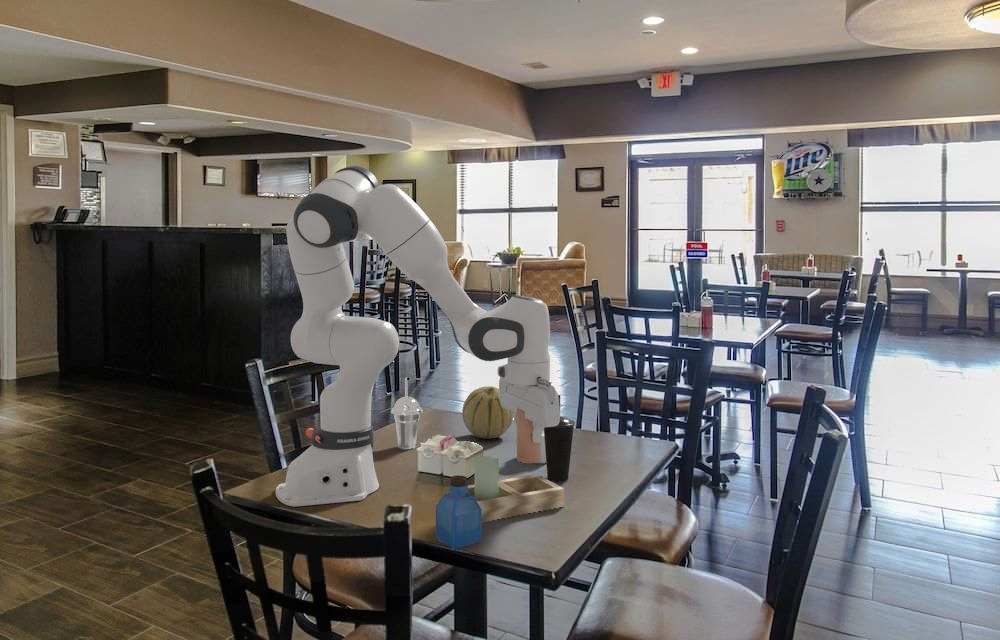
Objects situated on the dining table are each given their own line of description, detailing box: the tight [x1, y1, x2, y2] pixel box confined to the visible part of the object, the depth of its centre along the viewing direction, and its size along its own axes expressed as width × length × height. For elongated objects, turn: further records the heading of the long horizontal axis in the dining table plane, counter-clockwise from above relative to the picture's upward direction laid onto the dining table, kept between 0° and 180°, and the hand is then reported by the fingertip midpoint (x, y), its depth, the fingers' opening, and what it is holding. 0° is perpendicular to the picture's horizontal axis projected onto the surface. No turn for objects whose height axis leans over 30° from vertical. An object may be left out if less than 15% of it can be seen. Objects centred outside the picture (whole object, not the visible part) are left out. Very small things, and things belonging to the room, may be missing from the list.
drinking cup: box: [544, 394, 576, 483], centre depth 177 cm, size 8×8×20 cm
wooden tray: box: [466, 474, 565, 524], centre depth 159 cm, size 21×11×4 cm, turn 118°
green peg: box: [474, 455, 500, 501], centre depth 156 cm, size 5×5×11 cm
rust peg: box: [516, 408, 541, 464], centre depth 159 cm, size 5×5×11 cm
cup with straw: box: [390, 376, 424, 450], centre depth 202 cm, size 8×9×20 cm
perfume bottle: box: [435, 475, 483, 550], centre depth 141 cm, size 6×6×12 cm
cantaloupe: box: [461, 385, 514, 440], centre depth 213 cm, size 15×15×15 cm
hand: (528, 437), depth 159 cm, fingers closed on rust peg, 5 cm apart
